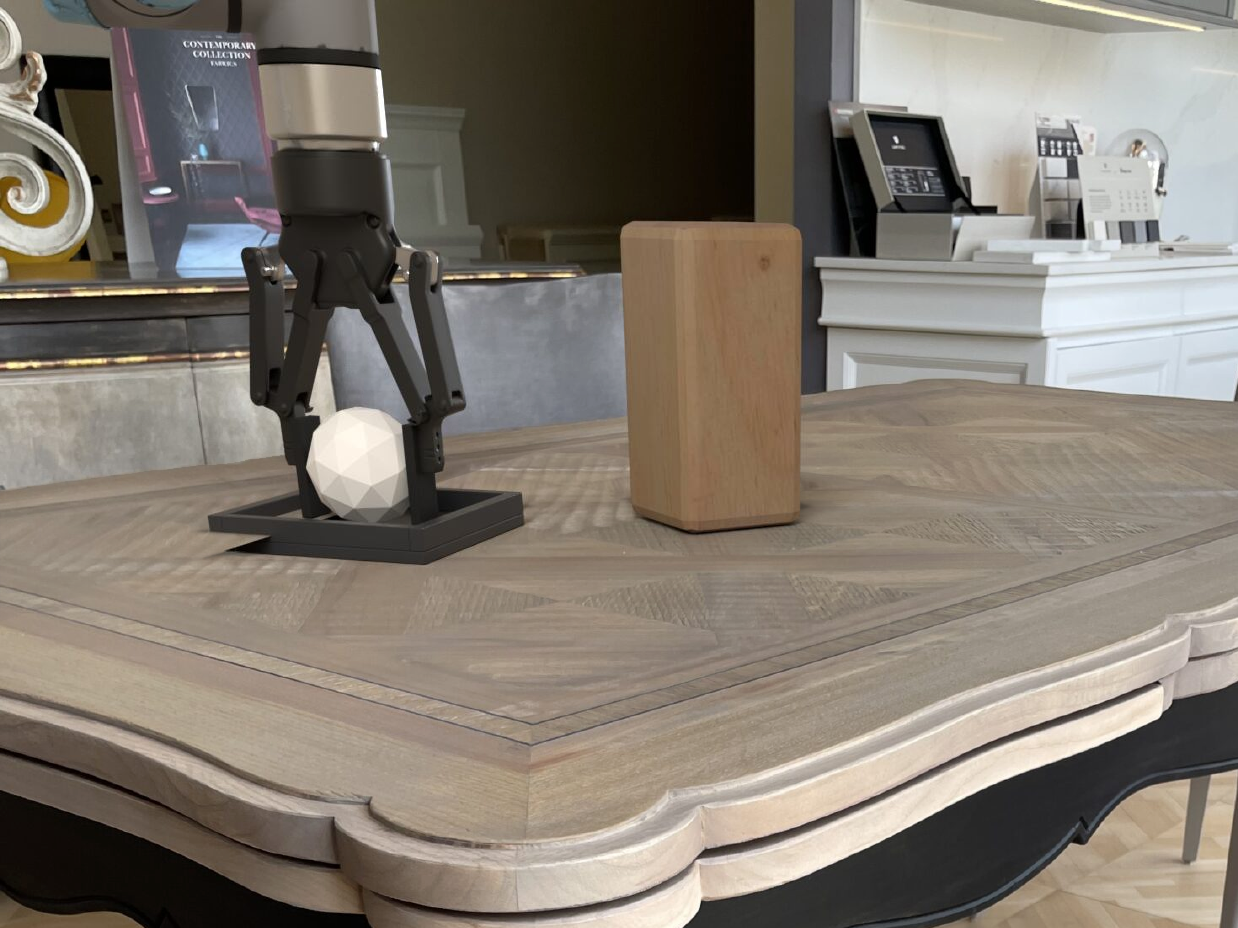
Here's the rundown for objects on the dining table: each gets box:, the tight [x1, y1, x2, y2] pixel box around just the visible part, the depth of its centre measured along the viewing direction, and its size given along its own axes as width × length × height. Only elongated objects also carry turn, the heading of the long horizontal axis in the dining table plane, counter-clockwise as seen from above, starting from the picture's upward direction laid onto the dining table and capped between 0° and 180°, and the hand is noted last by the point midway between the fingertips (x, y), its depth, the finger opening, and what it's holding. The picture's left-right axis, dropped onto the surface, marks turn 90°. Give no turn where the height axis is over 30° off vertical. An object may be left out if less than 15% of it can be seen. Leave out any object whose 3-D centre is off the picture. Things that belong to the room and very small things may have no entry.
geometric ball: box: [306, 406, 410, 523], centre depth 111 cm, size 8×8×8 cm
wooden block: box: [619, 220, 803, 534], centre depth 116 cm, size 10×10×20 cm
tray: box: [207, 486, 525, 565], centre depth 113 cm, size 16×16×2 cm
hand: (370, 517), depth 113 cm, fingers closed on geometric ball, 8 cm apart
